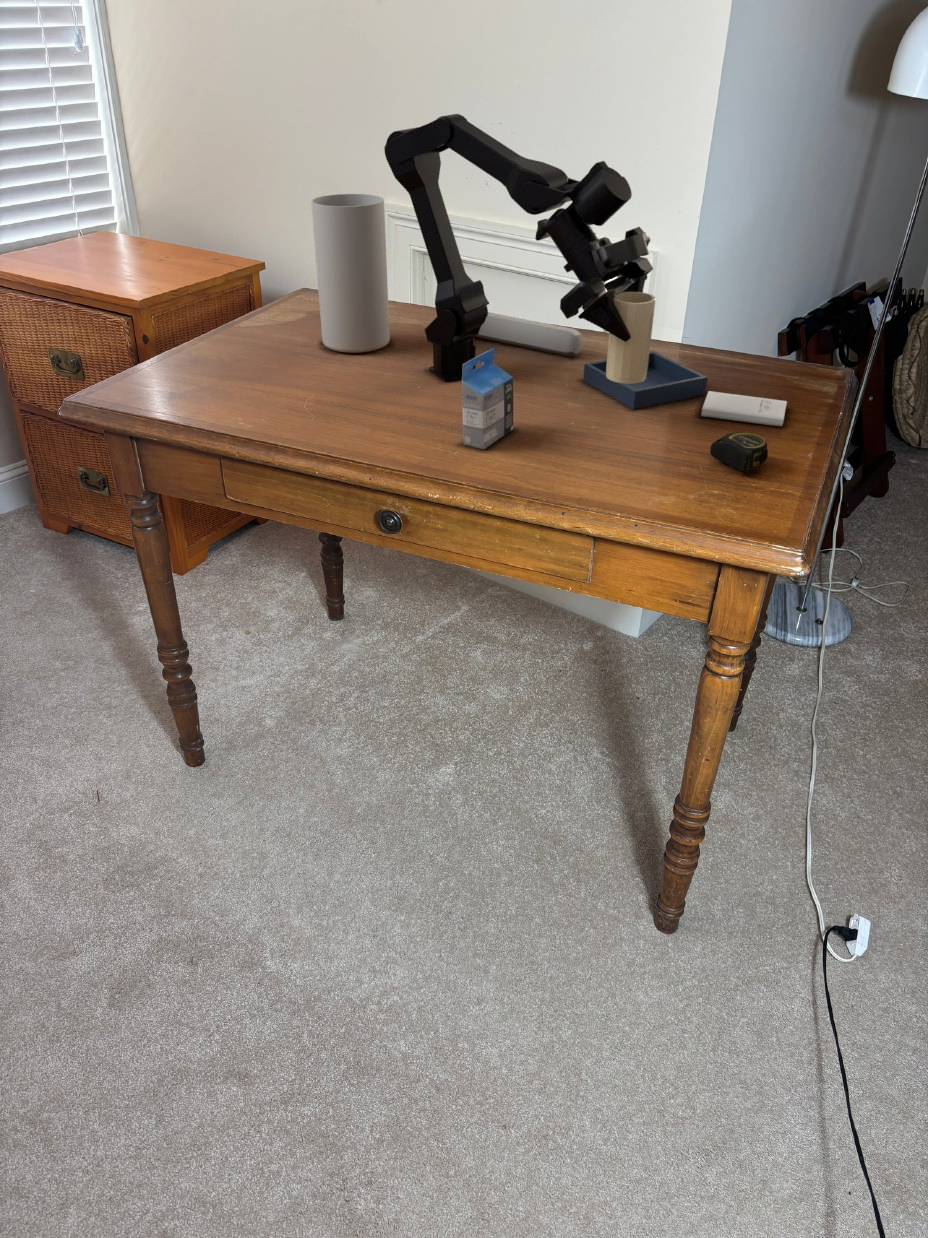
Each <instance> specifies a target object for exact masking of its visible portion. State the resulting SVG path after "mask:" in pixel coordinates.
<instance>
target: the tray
mask: <svg viewBox="0 0 928 1238" xmlns="http://www.w3.org/2000/svg"><path fill="white" fill-rule="evenodd" d="M606 365H607V359H604V360H598V361H593V362H587V363H584V366H583V379H582V381H583V382H584V383H586V384H588V385H590V386H592V387H593V388H595V389H596V390H599V391H600V392H602V393H604V394H605V395H607V396H609V397H610V398H613V399H614V400H616V401H618V402H619V403H621V404H623V405H625V406H627V407H628V408H630V409H632V410H638V409H643V408H647V407H651V406H652V407H653V406H658V405H662V404H666V403H672V402H676V401H681V400H686V399H690V398H696V397H700V396H706V394H707V393H706V391H707V385H708V376H706V375H704V374H702V373H700V372H698V371H696V370H694V369H691V368H690V367H687V366H686V365H683V364H682V363H679V362H677V361H676V360H674V359H671V358H669V357H667V356H666V355H663V354H661V353H659V352H657V351H650V353H649V361H648V370H647V378H646V380H645V381H643V382H640V383H634V384H625V383H618V382H614V381H611V380H609V379H608V378H607V377H606Z"/></svg>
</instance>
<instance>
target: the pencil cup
mask: <svg viewBox="0 0 928 1238" xmlns="http://www.w3.org/2000/svg"><path fill="white" fill-rule="evenodd" d="M656 300H657V298H656V296H654V295H653V294H650V293H647V292H643V293H642V292H621V293H617V294H614V305H615V307H616V309H617V310H618V312H619V314H620V316H621V318H622V320H623V322H624V323H625V325H626V327H627V329H628V331H629V334H630V336H631V338H630V339H629V340H628V341H626V342H624V341H623V340H621V339H619V338H618V337H616V336H614V335H612V334H611V333H609V332H608V334H609V335H608V346H607V355H606V356H607V357H606V360H607V365H606V377H607V378H608V379H609V380H611V381H614V382H618V383H625V384H634V383H640V382H643V381H645V380H646V378H647V370H648V361H649V353H650V352H651V343H652V335H653V325H654V316H655V309H656Z"/></svg>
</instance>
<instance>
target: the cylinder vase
mask: <svg viewBox="0 0 928 1238" xmlns="http://www.w3.org/2000/svg"><path fill="white" fill-rule="evenodd" d="M310 203H311V215H312V225H313V226H312V229H313V238H314V239H313V242H314V253H315V264H316V277H317V289H318V290H317V292H318V303H319V314H320V327H321V340H322V344H323V345H324V346H325V347H326V348H327V349H329V350H332V351H335V352H340V353H347V354H348V353H349V354H350V353H351V354H352V353H354V354H357V353H358V354H359V353H368V352H373V351H377V350H381V349H383V348H384V347H386V346H387V345H388V344H389V343H390V341H391V335H390V334H391V333H390V312H389V311H390V310H389V309H390V308H389V288H388V284H389V283H388V267H387V266H388V265H387V263H388V262H387V239H386V238H387V237H386V219H385V199H384V198H383V197H381V196H379V195H374V194H366V193H365V194H364V193H338V194H337V193H336V194H328V195H321V196H317V197H315V198H312V199H311V200H310Z"/></svg>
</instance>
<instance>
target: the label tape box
mask: <svg viewBox="0 0 928 1238" xmlns="http://www.w3.org/2000/svg"><path fill="white" fill-rule="evenodd" d="M495 351H496V347H493V348H490V349H489V350H487V351H485V352H483V353H481V354H479V355H477V356H476V357H475V358H473V359H472V360H470V361H468V362H466V363H464V364H463V370H462V378H461V400H462V401H461V402H462V403H461V405H462V434H463V435H462V436H463V438H462V439H463V445H464V446H468V447H472V448H477V449H481V450H485V449H487V448H488V447H490V446H491V445H493V444H494V443H495V442H497V441H499V440H500V439H501V438H502V437H504V436H506V435H507V434H508V433H510V432H511V431H513V430H514V381H515V379H514V377H513V376H512V375H510V374H509V373H507V372H506V371H505V370H503V369H502V368H501V367H499V366H498V365H496V364H495V363H494V360H495ZM478 363H482V365H479V366H478V367H476V365H478ZM474 366H475V369H473V367H474Z"/></svg>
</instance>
